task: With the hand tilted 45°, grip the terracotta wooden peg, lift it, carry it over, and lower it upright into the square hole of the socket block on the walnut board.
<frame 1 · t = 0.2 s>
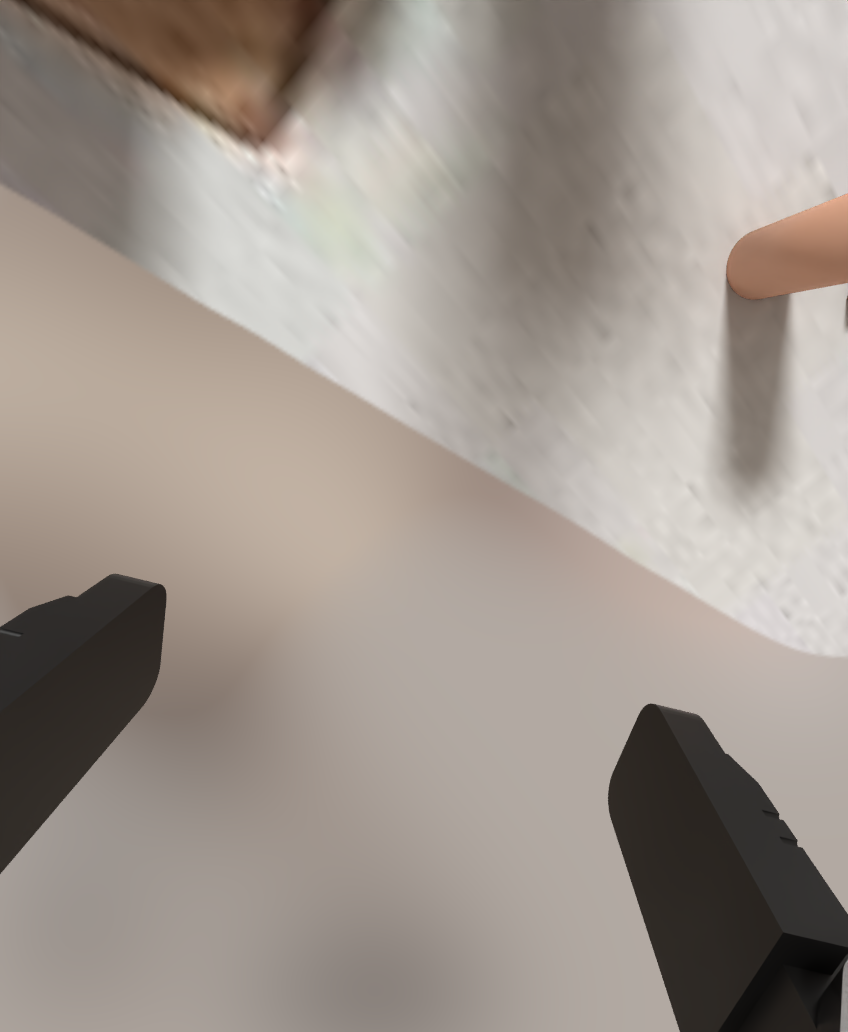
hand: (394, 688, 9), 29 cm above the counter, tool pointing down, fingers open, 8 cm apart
peg: (759, 264, 33), on the counter
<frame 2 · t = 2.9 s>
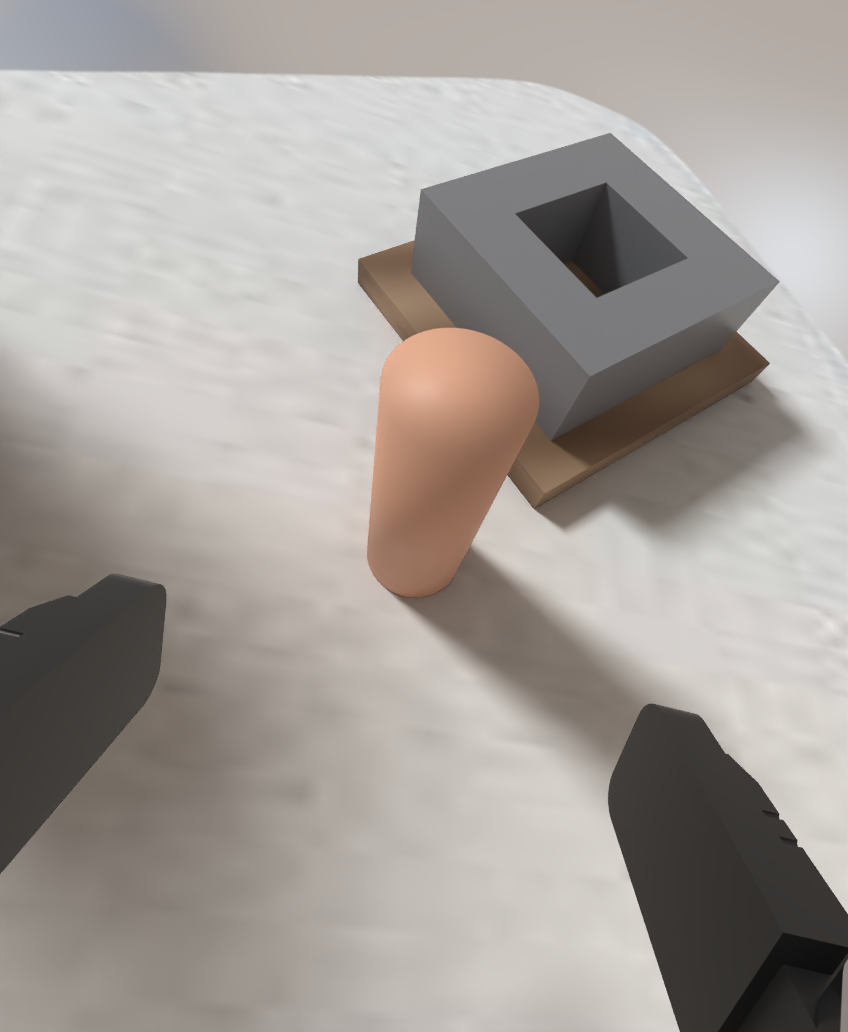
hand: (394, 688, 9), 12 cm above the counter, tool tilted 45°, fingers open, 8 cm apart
socket: (582, 276, 27), on the socket board, point 4 cm above the counter
socket board: (556, 332, 30), on the counter
peg: (413, 552, 23), on the counter
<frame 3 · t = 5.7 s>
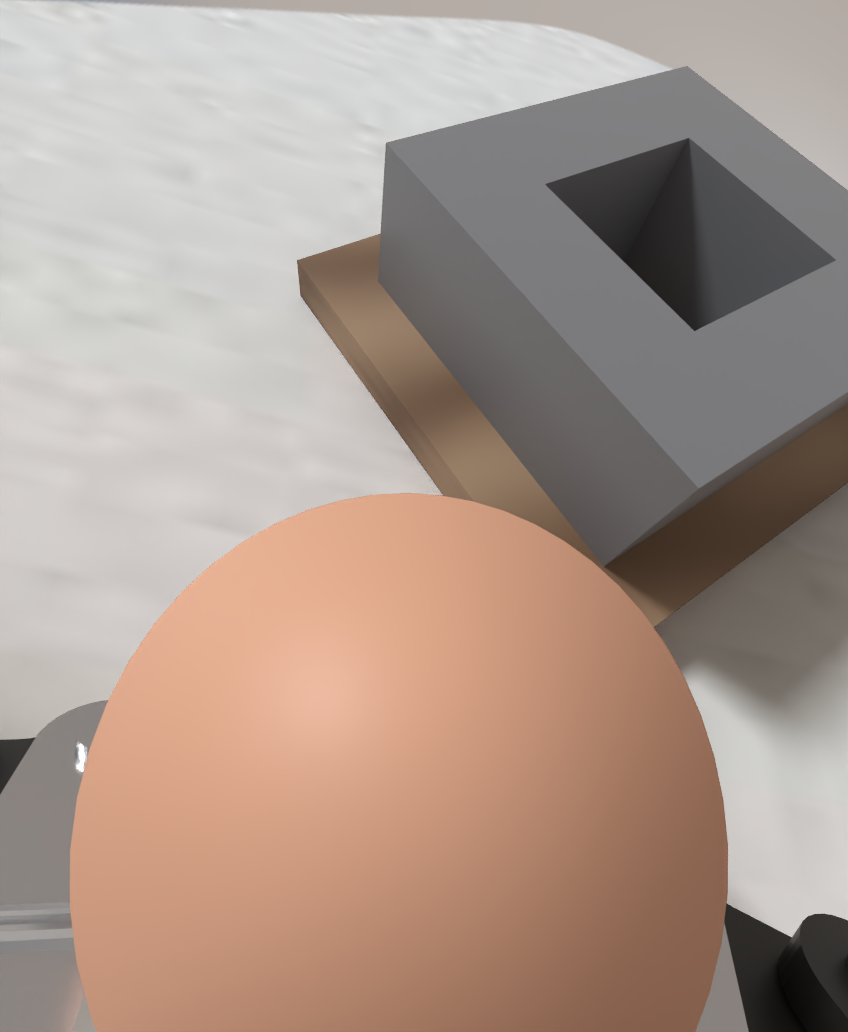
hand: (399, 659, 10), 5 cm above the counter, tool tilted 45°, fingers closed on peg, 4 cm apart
socket: (649, 289, 17), on the socket board, point 4 cm above the counter
socket board: (599, 371, 20), on the counter
peg: (365, 776, 13), on the counter, touching gripper
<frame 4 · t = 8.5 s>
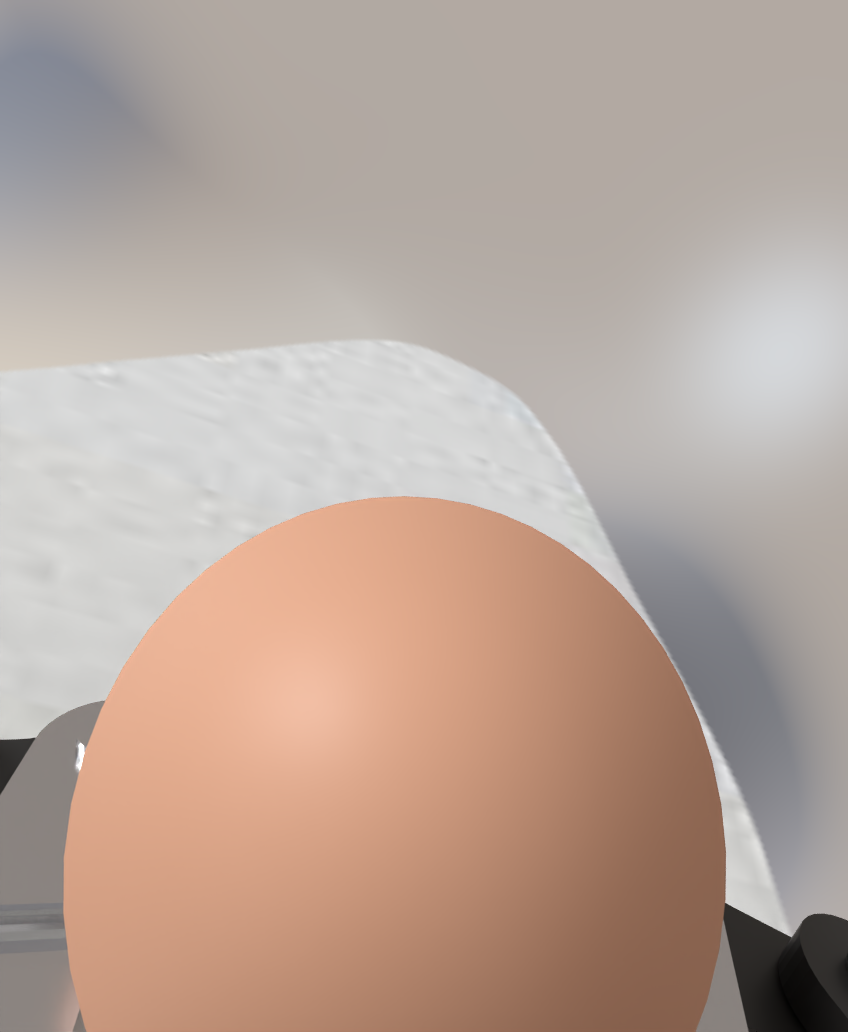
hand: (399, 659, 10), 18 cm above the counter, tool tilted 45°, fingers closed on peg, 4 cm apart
peg: (365, 778, 13), point 13 cm above the counter, touching gripper
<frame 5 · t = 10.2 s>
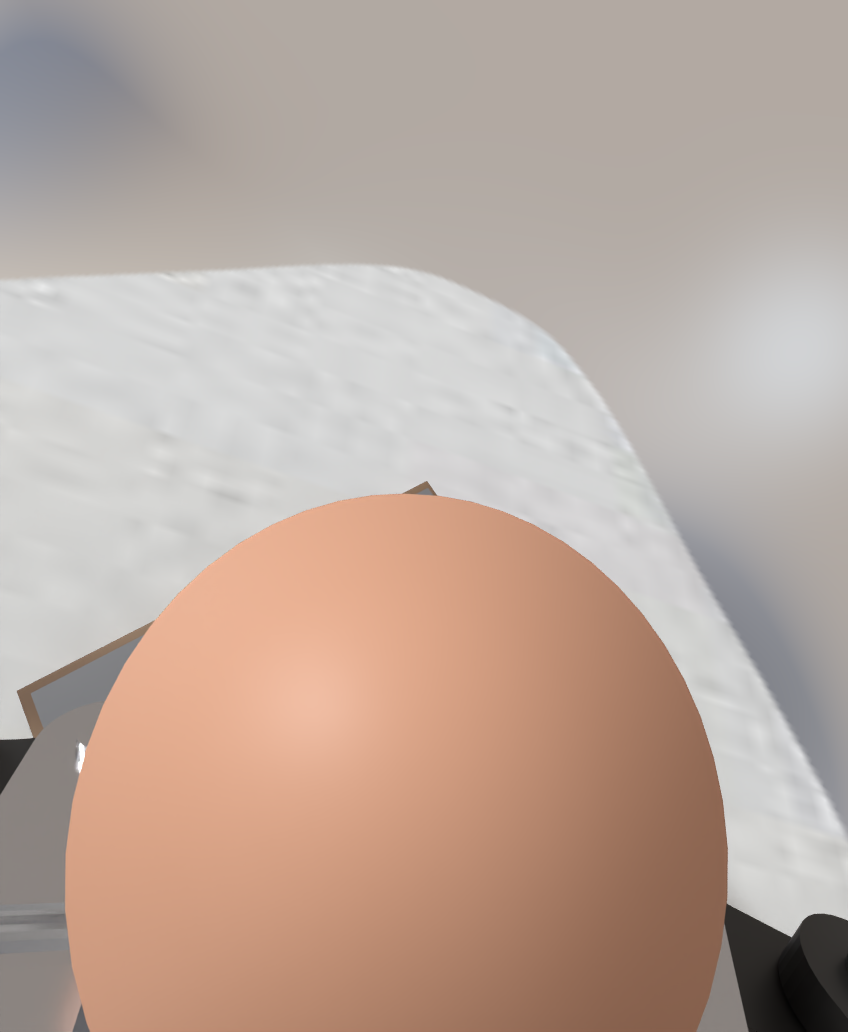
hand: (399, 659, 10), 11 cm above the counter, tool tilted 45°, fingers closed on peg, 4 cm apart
socket: (358, 771, 16), on the socket board, point 4 cm above the counter
socket board: (356, 771, 19), on the counter
peg: (366, 777, 13), point 7 cm above the counter, touching gripper
when the fingers open (7 cm above the counter, at t = 11.5 s): peg stays where it is, resting on socket board.
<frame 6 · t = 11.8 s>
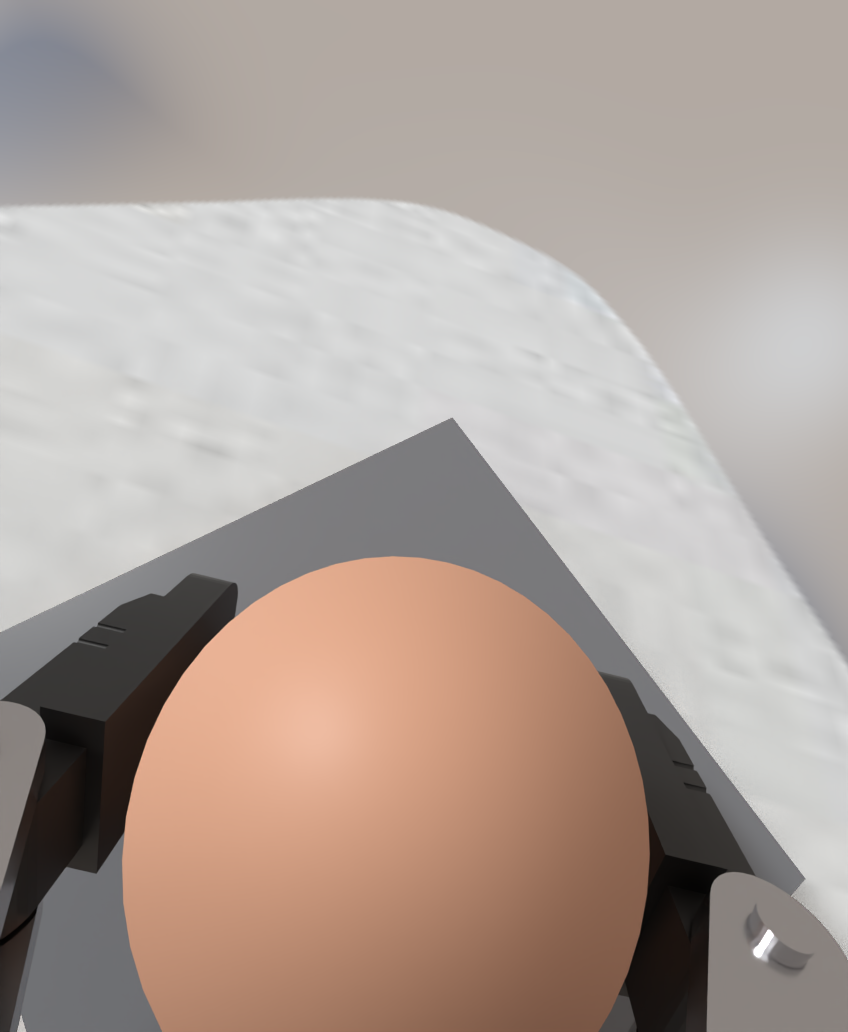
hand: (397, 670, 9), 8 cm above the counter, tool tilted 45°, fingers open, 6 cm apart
socket: (366, 776, 12), on the socket board, point 4 cm above the counter
peg: (364, 780, 14), point 2 cm above the counter, touching socket board
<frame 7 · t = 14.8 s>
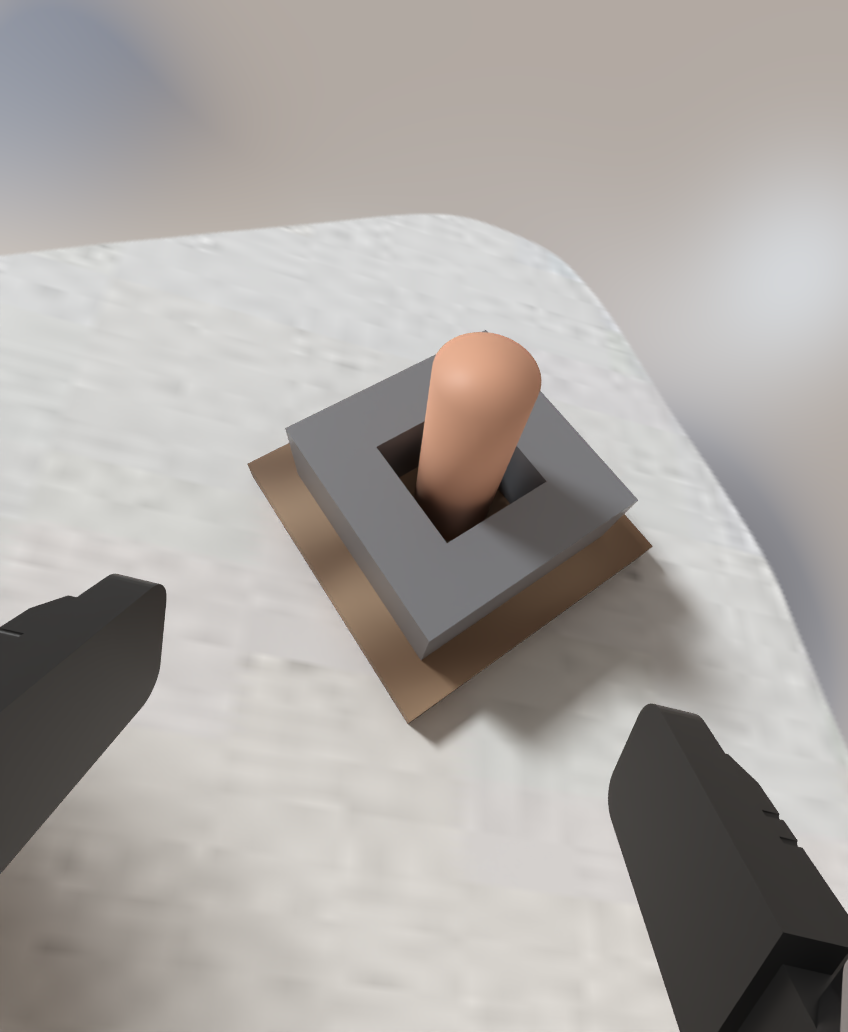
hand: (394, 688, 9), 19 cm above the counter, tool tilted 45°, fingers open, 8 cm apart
socket: (455, 486, 27), on the socket board, point 4 cm above the counter
socket board: (446, 516, 31), on the counter
peg: (449, 506, 29), point 2 cm above the counter, touching socket board
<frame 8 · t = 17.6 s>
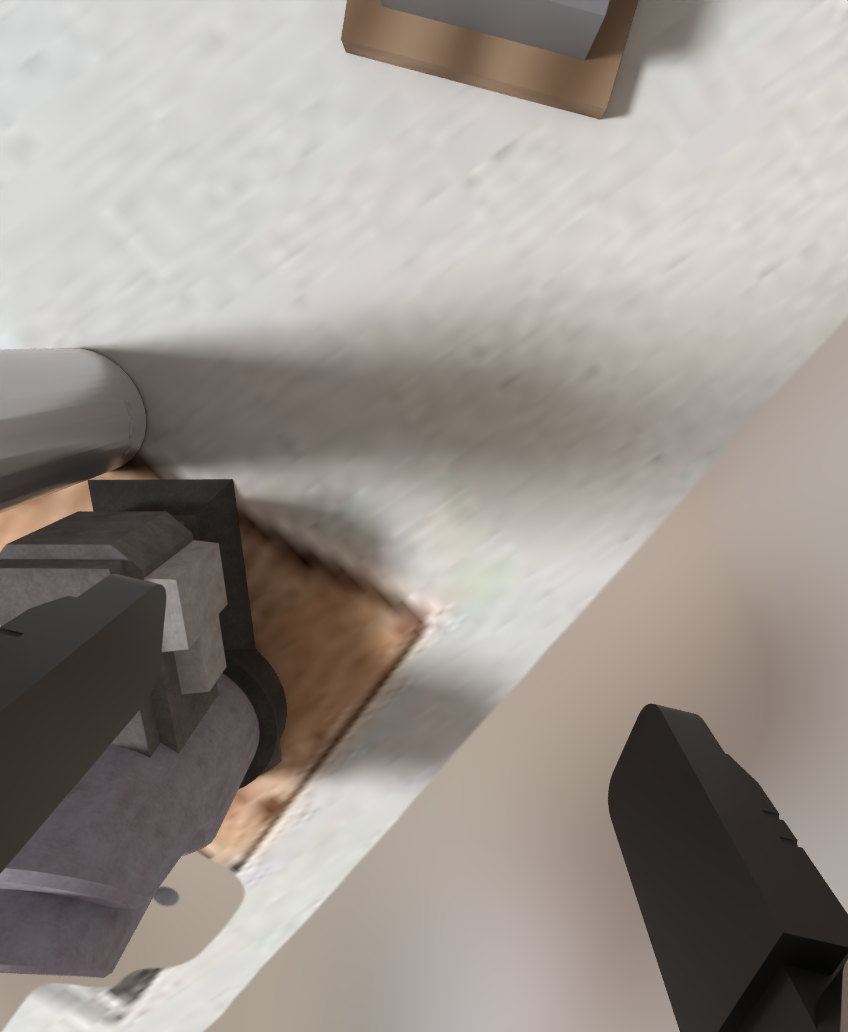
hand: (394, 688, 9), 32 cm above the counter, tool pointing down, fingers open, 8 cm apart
juicer: (190, 645, 47), on the counter
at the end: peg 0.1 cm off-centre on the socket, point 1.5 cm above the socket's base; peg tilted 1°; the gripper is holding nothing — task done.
